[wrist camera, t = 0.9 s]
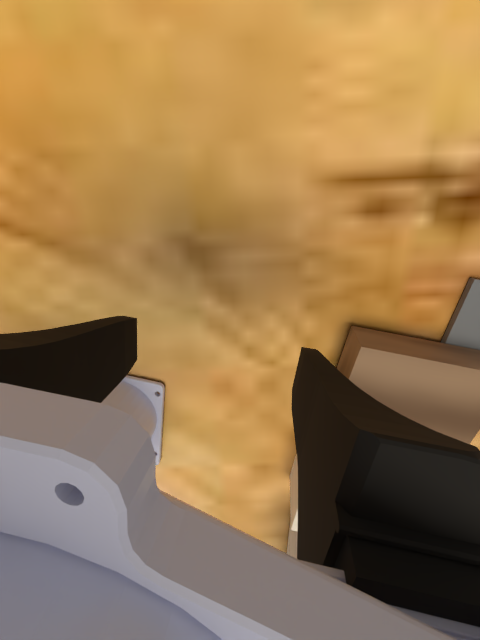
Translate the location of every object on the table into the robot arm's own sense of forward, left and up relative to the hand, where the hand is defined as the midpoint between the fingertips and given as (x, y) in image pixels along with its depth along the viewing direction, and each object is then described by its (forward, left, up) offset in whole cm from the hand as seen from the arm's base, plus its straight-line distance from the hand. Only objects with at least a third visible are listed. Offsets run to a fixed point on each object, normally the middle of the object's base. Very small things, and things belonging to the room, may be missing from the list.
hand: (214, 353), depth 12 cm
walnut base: (-5, -12, -9) cm, 16 cm away
